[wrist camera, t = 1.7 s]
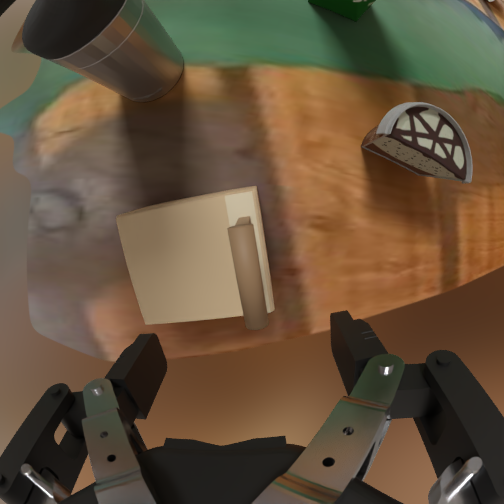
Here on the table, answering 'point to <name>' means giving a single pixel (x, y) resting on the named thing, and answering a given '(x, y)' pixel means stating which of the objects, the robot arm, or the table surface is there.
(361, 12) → the milk carton
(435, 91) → the table surface
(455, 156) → the food container
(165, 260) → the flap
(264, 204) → the table surface
